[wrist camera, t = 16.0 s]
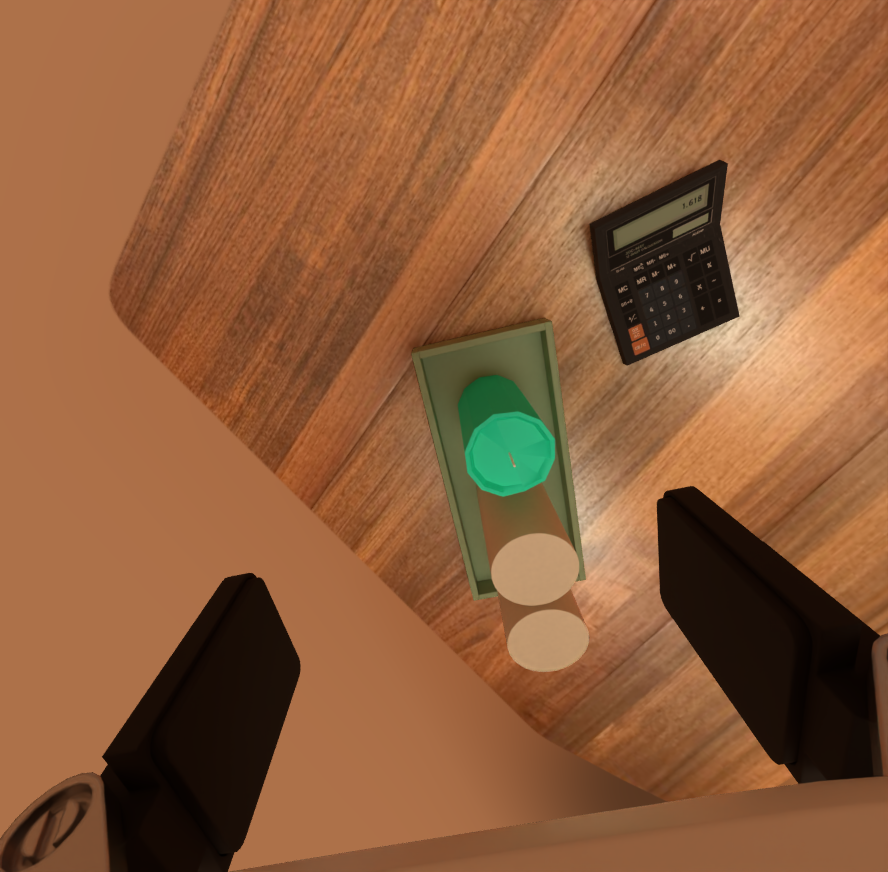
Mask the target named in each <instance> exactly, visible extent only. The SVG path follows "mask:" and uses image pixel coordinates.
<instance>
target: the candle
mask: <svg viewBox="0 0 888 872" xmlns="http://www.w3.org/2000/svg"><path fill="white" fill-rule="evenodd" d="M458 411H459V418H460V425H461V432H462V438H463V445H464V452H465V459H466V466H467V473H468V474H469V475H470V477H471V478H472V479H473V480H474V481H475V482H476V484H477V485H478V486H479V487H480V488H481V490H484V491H487V492H490V493H493V494H496V495H499V496H502V497H504V496H508V495H512V494H516V493H520V492H524V491H526V490H528V489H530V488H532V487H534V486H536V485H538V484H540V483H541V482H543V481H545V480H546V478H547V475H548V473H549V471H550V469H551V466H552V464H553V462H554V460H555V438H554V437H553V436H552V434H551V433H550V431H549V430H548V428H547V427H546V426H545V424H544V423H543V421H542V420H541V419H540V417H539V416H538V414H537V413H536V412H535V410H534V409H533V407H532V406H531V404H530V403H529V402H528V400H527V399H526V397H525V396H524V395H523V393H522V392H521V391H520V389H519V388H518V387H517V385H516V384H515V383H514V381H511V380H509V379H506V378H504V377H501V376H499V375H492V376H485V377H479V378H478V379H476V380H475V381H474V382H472V383H471V384H470V385H468V386H467V387H466V388H464V391H463V393H462V396H461V398H460V400H459V403H458Z"/></svg>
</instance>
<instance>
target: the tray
mask: <svg viewBox="0 0 888 872" xmlns="http://www.w3.org/2000/svg"><path fill="white" fill-rule="evenodd" d="M411 355H412V359H413V363H414V367H415V371H416V375H417V379H418V383H419V387H420V391H421V394H422V398H423V402H424V406H425V410H426V414H427V418H428V422H429V426H430V430H431V434H432V438H433V442H434V446H435V450H436V454H437V458H438V461H439V465H440V469H441V473H442V477H443V481H444V485H445V489H446V493H447V497H448V501H449V505H450V509H451V513H452V517H453V521H454V525H455V528H456V532H457V536H458V540H459V544H460V548H461V552H462V556H463V560H464V564H465V568H466V572H467V576H468V580H469V584H470V588H471V591H472V595H473V599H474V601H475V600H479V599H485V598H491V597H496V596H498V593H497V589H496V588H495V586H494V584H493V581H492V578H491V572H490V566H489V560H488V554H487V549H486V543H485V537H484V531H483V525H482V520H481V514H480V508H479V502H478V496H477V484H476V482H475V481H474V480H473V479H472V478H471V477H470V475H469V474H468V473H467V466H466V459H465V452H464V445H463V438H462V432H461V425H460V418H459V411H458V403H459V400H460V398H461V396H462V393H463V391H464V388H466V387H467V386H468V385H470V384H471V383H472V382H474V381H475V380H476V379H478V378H479V377H485V376H492V375H499V376H501V377H504V378H506V379H509V380H511V381H514V383H515V384H516V385H517V387H518V388H519V389H520V391H521V392H522V393H523V395H524V396H525V397H526V399H527V400H528V402H529V403H530V404H531V406H532V407H533V409H534V410H535V412H536V413H537V414H538V416H539V417H540V419H541V420H542V421H543V423H544V424H545V426H546V427H547V428H548V430H549V431H550V433H551V434H552V436H553V437H554V438H555V460H554V462H553V464H552V466H551V469H550V471H549V473H548V475H547V478H546V480H545V481H543V482H542V484H543V486H544V488H545V491H546V493H547V495H548V497H549V499H550V501H551V503H552V505H553V507H554V509H555V511H556V513H557V515H558V517H559V519H560V521H561V523H562V525H563V527H564V529H565V531H566V533H567V535H568V537H569V539H570V541H571V543H572V545H573V547H574V549H575V551H576V554H577V556H578V559H579V573H578V577H577V579H576V581H582V580H586V576H585V569H584V561H583V554H582V546H581V538H580V531H579V523H578V516H577V508H576V500H575V493H574V485H573V478H572V470H571V462H570V455H569V447H568V439H567V432H566V424H565V417H564V409H563V401H562V394H561V386H560V379H559V371H558V363H557V356H556V348H555V341H554V333H553V325H552V321H551V320H548V319H546V318H542V319H537V320H533V321H529V322H524V323H520V324H516V325H511V326H507V327H503V328H498V329H494V330H490V331H485V332H481V333H477V334H472V335H468V336H464V337H460V338H455V339H451V340H447V341H442V342H438V343H434V344H429V345H425V346H421V347H416V348H413V350H412V353H411ZM576 581H575V582H576Z"/></svg>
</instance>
